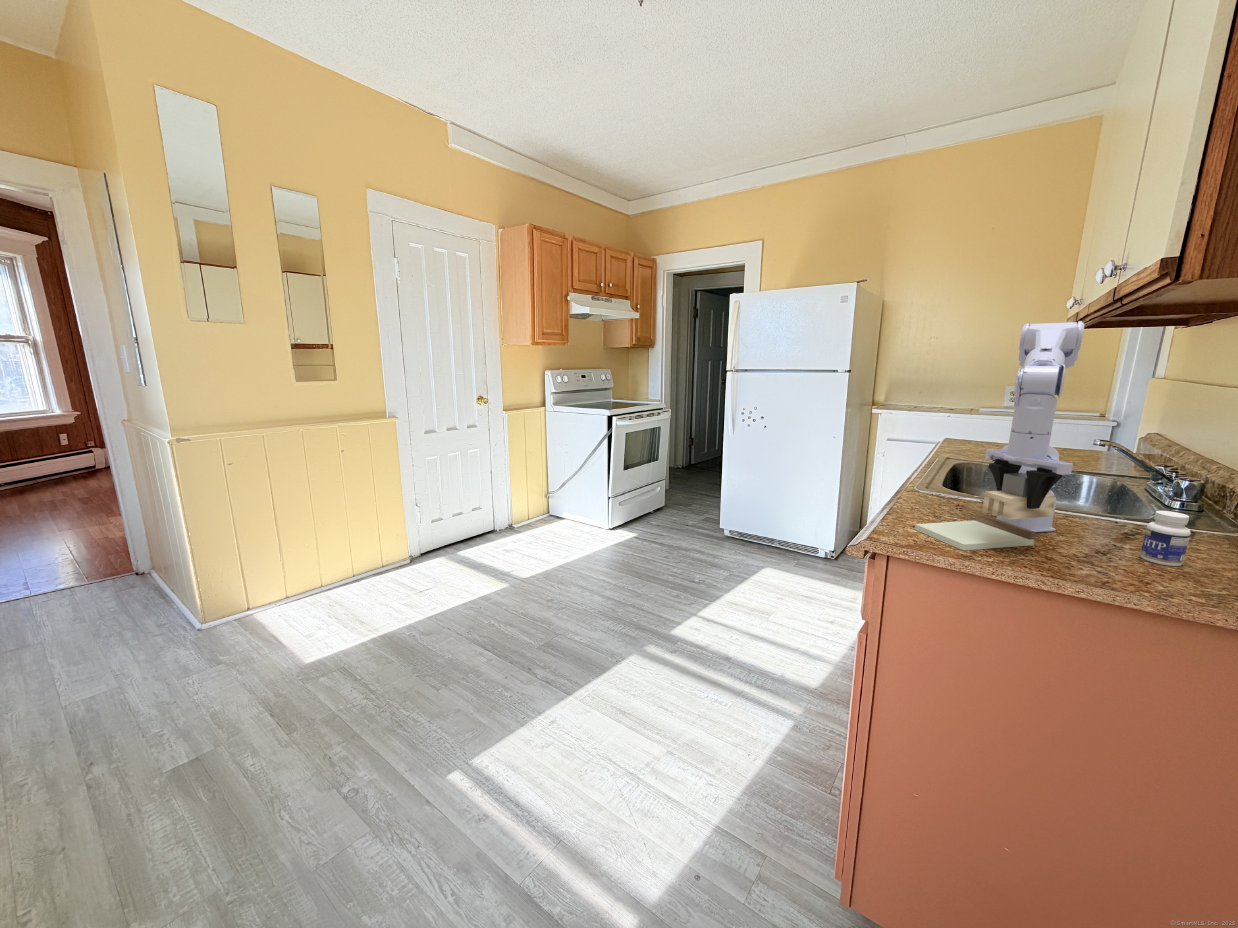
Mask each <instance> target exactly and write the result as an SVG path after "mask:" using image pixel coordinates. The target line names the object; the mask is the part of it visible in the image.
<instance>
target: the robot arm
mask: <svg viewBox="0 0 1238 928" xmlns="http://www.w3.org/2000/svg"><path fill="white" fill-rule="evenodd" d="M1084 330H1085V323H1084V322H1083V321H1082V320H1078V321H1075V322H1074V321H1070V322H1047V323H1046V322H1045V323H1025V324H1024V325H1023V326H1022V329H1021V333H1020V339H1019V346H1018V349H1019V350H1018V351H1019V353H1018V361H1019V366H1021V367H1022V368H1018V370H1017V372H1016V378H1015V382H1014V383H1015V384H1014V402H1013V403H1014V404H1013V406H1014V409H1013V410H1014V411H1013V415H1012V422H1011V429H1010V432H1009V433H1010V434H1009V439H1008V444H1006V445H1004V446H1003V447H1002V449H996V448H991V449H990V448H988V449H986V450H985V457H984V459H985V460H989V461H991V460H992V461H994V462H990V463H988V469H989V470H990V472H991V474H992V477H993V478H994V482H995V486H996V488H995V489H996V491H1002V485H1003V479H1004V474H1007V473H1025V474H1027V479H1028V496H1027V508H1029V509H1037V508H1040V506H1041V504H1042V502H1043V500H1044V498H1045V496H1046V495H1047V494H1051V495H1055V493H1054V492H1053V491H1052V490H1051V489H1052V488H1055V486H1056V483H1058V482H1059V481H1060V480H1061V479H1062V478H1063V476H1066V475H1072V471H1073V466H1074V464H1073V463H1071V462H1067V461H1063V460H1060V453H1059V451H1058V450H1057V449H1055V447H1053V446H1051V445H1050V442H1051V438H1052V437H1051V436H1052V431H1053V426H1054V421H1055V416H1056V410H1057V405H1058V399H1060V397H1061V395H1062V394H1063V389H1064V385H1065V380H1066V379H1065V378H1066V373H1067V370H1066V369H1069V368H1071V367H1074V365H1075V362H1077V360H1078V357H1079V352H1080V351H1081V346H1082V340H1083V336H1084ZM1055 396H1057V397H1055ZM1056 505H1057V498H1056V496H1055V501H1054V507H1053V512H1052V516H1051V517H1037V518H1023V519H1009V520H1007V519H1003V518H1002V516H996V519H998V520H1001V521H1004V522H1007V523H1010V524H1013V525H1016V526H1019V527H1022V528H1025V529H1028V530H1031V531H1034V532H1036V533H1044V532H1055V531H1056V530H1057V529H1056V528H1055V527H1053V521H1054V517H1055V516H1054V515H1055V512H1056Z"/></svg>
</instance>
